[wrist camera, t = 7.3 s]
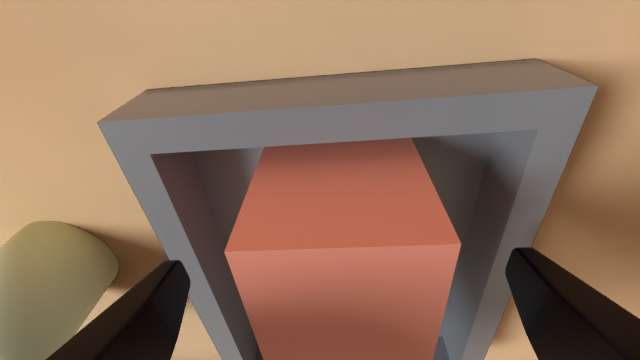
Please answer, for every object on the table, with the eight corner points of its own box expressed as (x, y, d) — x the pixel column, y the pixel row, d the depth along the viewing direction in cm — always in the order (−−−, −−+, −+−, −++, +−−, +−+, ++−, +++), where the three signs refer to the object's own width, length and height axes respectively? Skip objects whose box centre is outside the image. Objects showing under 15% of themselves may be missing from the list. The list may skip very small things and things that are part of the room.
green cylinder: (133, 283, 16) (63, 394, 12) (53, 285, 16) (-42, 394, 12) (90, 218, 13) (-17, 330, 9) (-3, 223, 14) (-148, 332, 10)
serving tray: (455, 335, 17) (472, 386, 15) (247, 338, 18) (236, 387, 16) (535, 58, 9) (598, 85, 7) (147, 89, 10) (96, 122, 8)
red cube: (398, 232, 12) (431, 364, 8) (286, 236, 13) (265, 364, 9) (406, 128, 10) (461, 243, 6) (267, 137, 10) (224, 252, 6)
